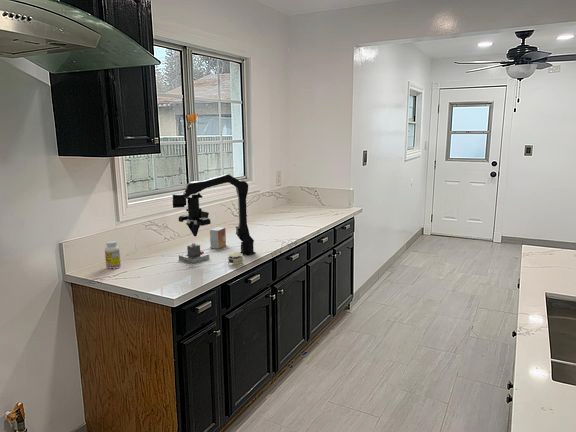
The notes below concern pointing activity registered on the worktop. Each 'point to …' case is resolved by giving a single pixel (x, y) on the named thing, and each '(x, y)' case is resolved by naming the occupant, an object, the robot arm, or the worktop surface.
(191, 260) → the socket plate
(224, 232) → the small box
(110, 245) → the supplement bottle
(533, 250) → the worktop surface
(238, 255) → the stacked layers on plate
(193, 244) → the plug
